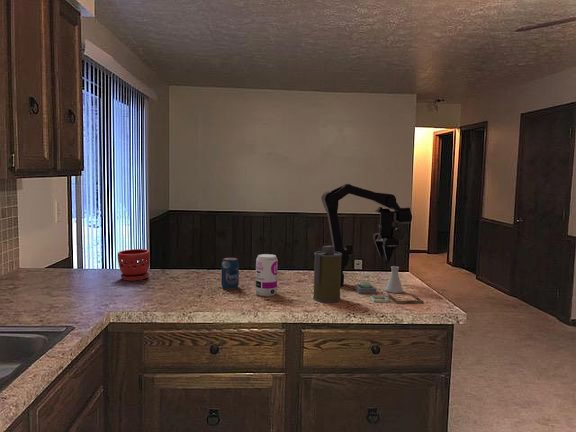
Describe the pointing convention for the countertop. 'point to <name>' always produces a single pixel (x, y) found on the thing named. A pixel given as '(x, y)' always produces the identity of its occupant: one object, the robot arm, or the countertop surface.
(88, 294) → the countertop surface
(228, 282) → the soda can
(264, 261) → the supplement can
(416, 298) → the outline
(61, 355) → the countertop surface
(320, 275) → the canister
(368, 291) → the button housing
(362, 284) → the button
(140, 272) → the plant pot
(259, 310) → the countertop surface
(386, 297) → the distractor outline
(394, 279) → the flask
